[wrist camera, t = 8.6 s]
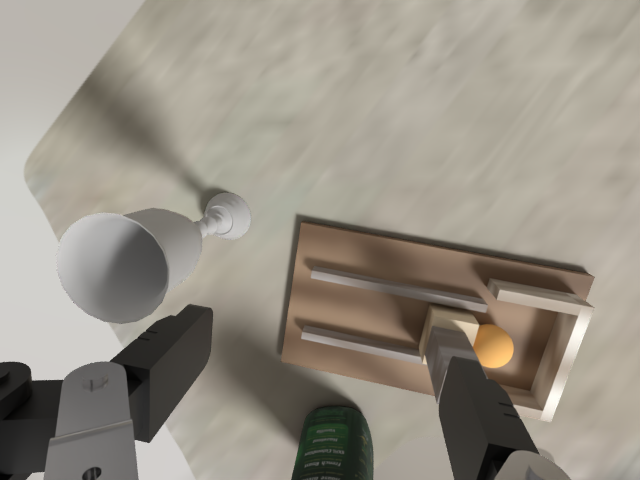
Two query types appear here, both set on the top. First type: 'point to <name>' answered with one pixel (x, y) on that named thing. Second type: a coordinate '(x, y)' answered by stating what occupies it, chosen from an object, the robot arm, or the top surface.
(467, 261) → the board
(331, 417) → the coffee jar
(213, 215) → the chalice
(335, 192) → the top surface
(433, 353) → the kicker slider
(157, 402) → the robot arm
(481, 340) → the ball
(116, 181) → the top surface
